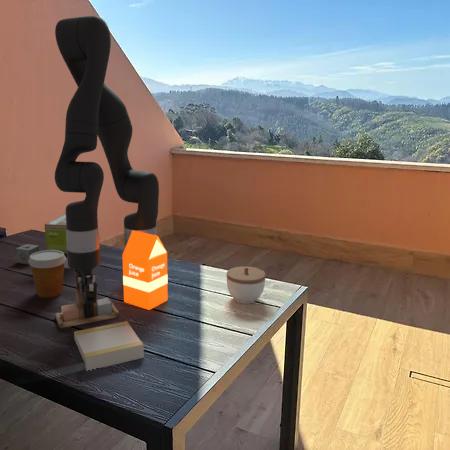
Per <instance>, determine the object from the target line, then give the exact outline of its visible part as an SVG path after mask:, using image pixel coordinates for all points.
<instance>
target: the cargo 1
mask: <svg viewBox="0 0 450 450" xmlns="http://www.w3.org/2000/svg"><path fill="white" fill-rule="evenodd" d="M60 308H61V309H60V310H61V313H62V319H63V322H67V321H72V320H78V319H79V309H78V307H77V305H76V302H75V303H71V304H64V305H61V306H60Z"/></svg>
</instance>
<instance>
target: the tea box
mask: <svg viewBox="0 0 450 450" xmlns="http://www.w3.org/2000/svg"><path fill="white" fill-rule="evenodd" d="M44 234H45V244H46V250H58V251H61V252H63V253H64V256H65V257H66V260H65V262H64V269H71V268H70V267H69V266H68V260H67V244H66V234H67V226H66V212H65V213H63V214H61V215H59V216H57V217H55V218H54V219H51V220H50V221H47V222H46V223H44Z"/></svg>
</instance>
